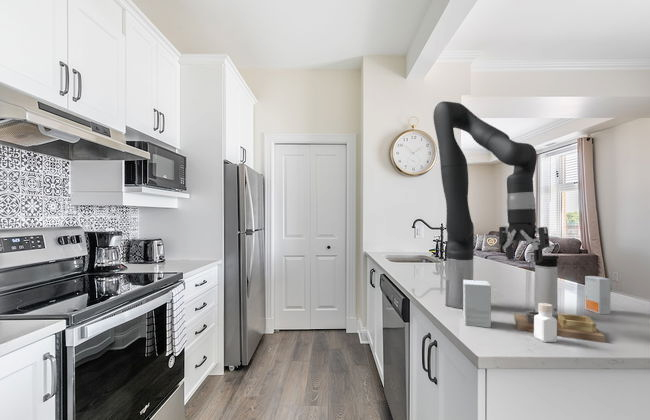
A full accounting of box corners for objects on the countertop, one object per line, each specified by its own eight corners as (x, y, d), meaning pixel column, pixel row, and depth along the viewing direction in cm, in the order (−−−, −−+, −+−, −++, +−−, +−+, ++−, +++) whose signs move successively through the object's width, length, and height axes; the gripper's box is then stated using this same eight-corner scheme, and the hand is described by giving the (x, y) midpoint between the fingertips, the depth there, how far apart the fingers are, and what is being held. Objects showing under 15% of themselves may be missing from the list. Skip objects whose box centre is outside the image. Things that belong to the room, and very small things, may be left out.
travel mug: (562, 319, 108) (562, 257, 108) (539, 317, 109) (539, 256, 109) (553, 313, 114) (553, 254, 114) (531, 312, 115) (532, 254, 116)
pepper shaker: (557, 342, 88) (558, 306, 88) (543, 342, 88) (543, 306, 88) (546, 337, 92) (546, 302, 92) (532, 337, 92) (533, 302, 92)
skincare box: (584, 309, 120) (584, 275, 120) (595, 309, 120) (595, 275, 120) (599, 314, 114) (599, 279, 114) (611, 314, 114) (611, 279, 114)
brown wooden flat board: (517, 330, 97) (517, 316, 97) (514, 318, 108) (514, 306, 108) (604, 342, 88) (604, 327, 88) (591, 328, 99) (591, 315, 99)
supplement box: (487, 320, 106) (488, 280, 106) (491, 328, 99) (491, 285, 99) (462, 318, 108) (462, 278, 108) (464, 325, 101) (464, 283, 101)
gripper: (492, 209, 107) (494, 259, 107) (536, 207, 94) (540, 264, 94) (507, 208, 111) (509, 257, 110) (552, 206, 98) (555, 262, 98)
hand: (523, 260), depth 102 cm, fingers open, 8 cm apart
